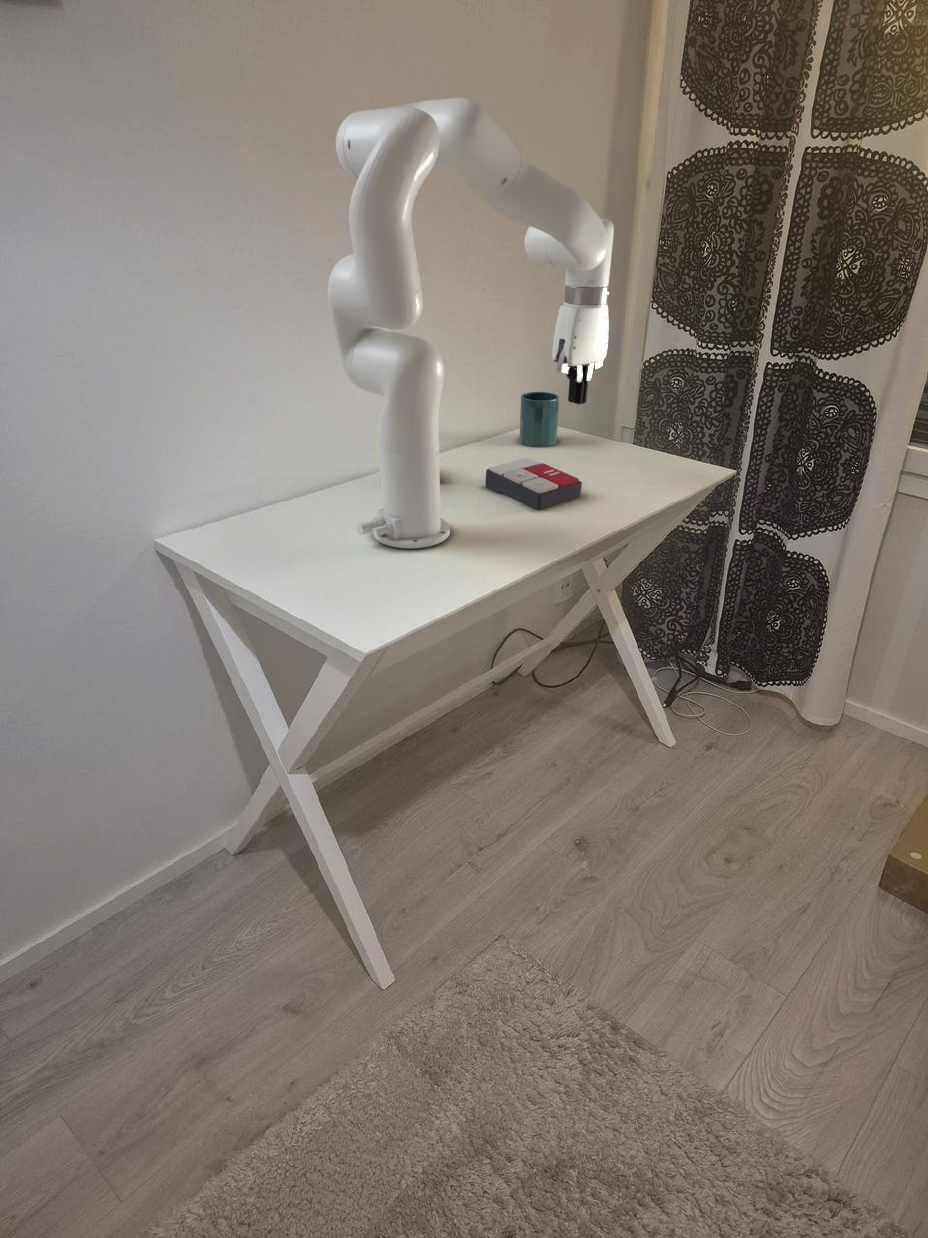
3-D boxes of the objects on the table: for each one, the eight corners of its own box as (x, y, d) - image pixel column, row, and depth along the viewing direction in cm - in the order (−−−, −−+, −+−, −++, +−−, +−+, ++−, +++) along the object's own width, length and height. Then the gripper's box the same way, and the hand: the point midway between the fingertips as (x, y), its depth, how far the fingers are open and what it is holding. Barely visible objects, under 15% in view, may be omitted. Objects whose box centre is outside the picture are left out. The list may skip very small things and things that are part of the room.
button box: (539, 491, 141) (485, 465, 151) (537, 513, 143) (484, 486, 153) (583, 478, 147) (528, 454, 157) (581, 499, 149) (526, 474, 159)
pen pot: (537, 449, 174) (539, 403, 169) (512, 440, 180) (513, 395, 175) (564, 442, 178) (566, 396, 174) (538, 433, 184) (540, 389, 179)
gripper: (599, 291, 147) (590, 393, 156) (539, 297, 139) (533, 403, 147) (630, 296, 142) (619, 400, 151) (570, 301, 134) (562, 412, 142)
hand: (577, 402), depth 149 cm, fingers closed
